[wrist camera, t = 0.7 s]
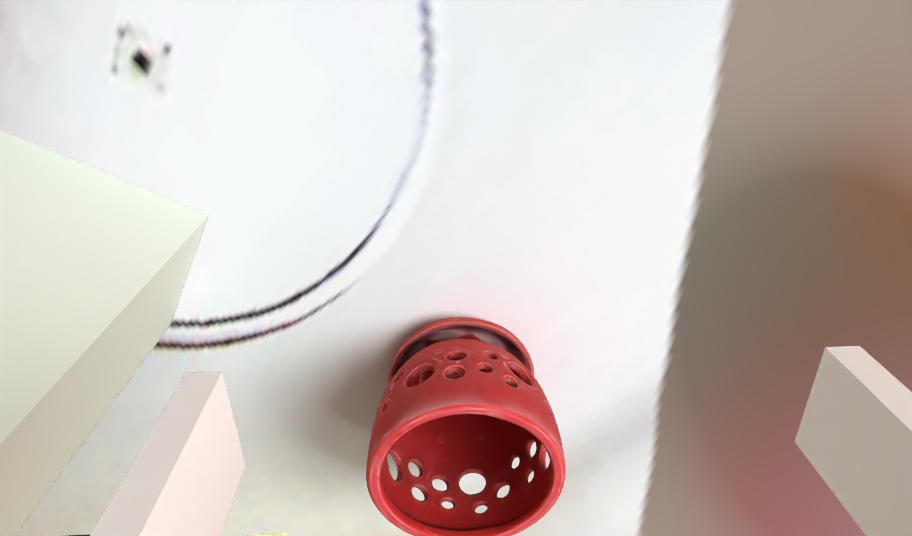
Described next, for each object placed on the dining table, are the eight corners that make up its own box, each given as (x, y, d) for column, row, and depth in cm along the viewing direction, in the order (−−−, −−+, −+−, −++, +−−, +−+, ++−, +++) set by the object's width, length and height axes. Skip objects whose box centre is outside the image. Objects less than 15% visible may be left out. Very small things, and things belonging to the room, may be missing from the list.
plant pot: (362, 317, 46) (343, 421, 35) (529, 291, 46) (560, 388, 35) (396, 443, 52) (387, 565, 41) (544, 421, 52) (575, 538, 41)
